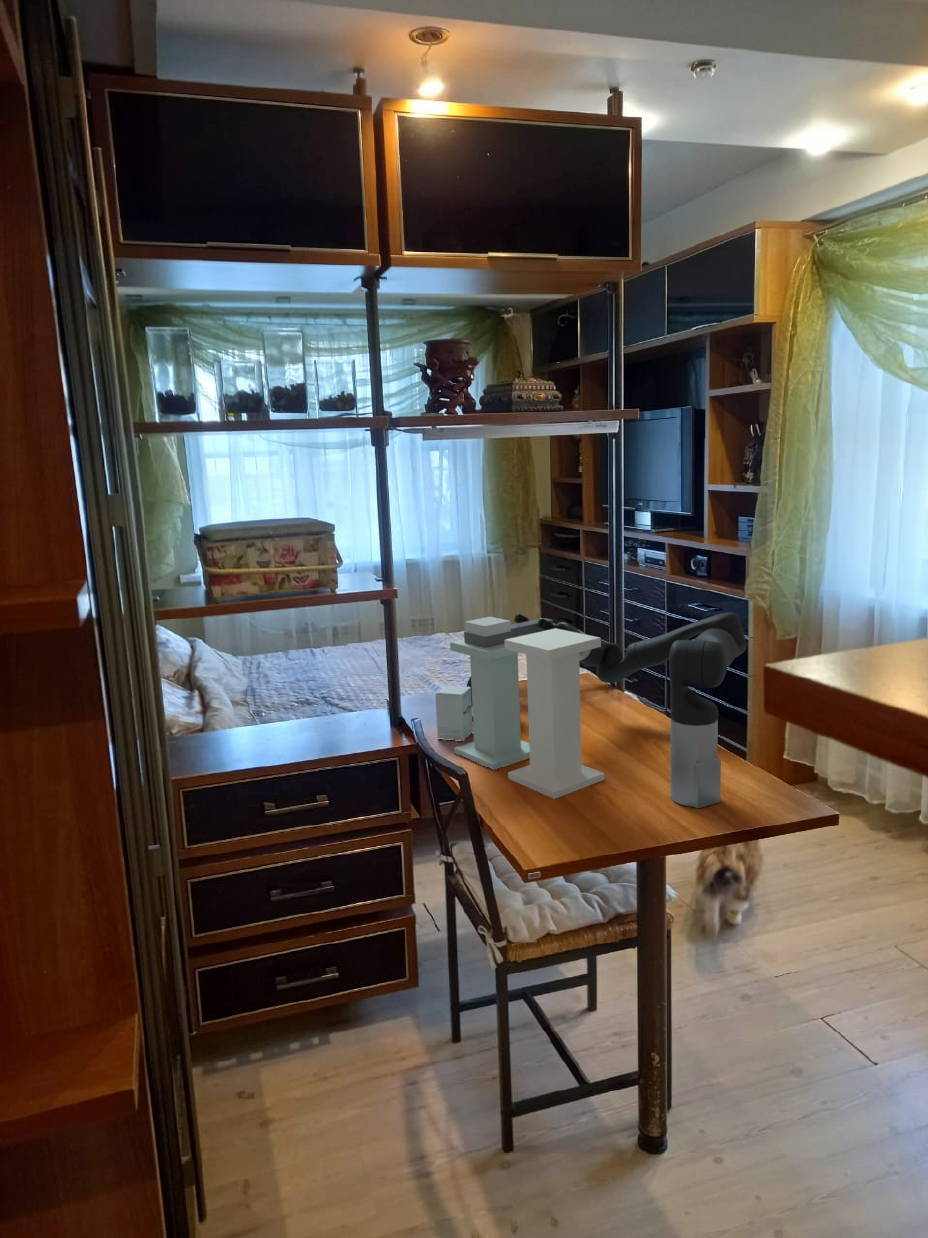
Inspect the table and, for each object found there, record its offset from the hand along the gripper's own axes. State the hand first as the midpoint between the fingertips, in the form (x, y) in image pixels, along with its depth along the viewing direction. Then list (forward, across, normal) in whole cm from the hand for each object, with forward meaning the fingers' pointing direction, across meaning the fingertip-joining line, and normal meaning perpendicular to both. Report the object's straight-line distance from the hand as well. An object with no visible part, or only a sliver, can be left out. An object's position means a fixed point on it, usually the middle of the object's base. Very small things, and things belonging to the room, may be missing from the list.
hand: (527, 619), depth 205 cm
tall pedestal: (-6, +21, +33) cm, 40 cm away
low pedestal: (-6, 0, +33) cm, 33 cm away
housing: (+2, 0, +5) cm, 6 cm away
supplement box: (-6, -17, +33) cm, 38 cm away
